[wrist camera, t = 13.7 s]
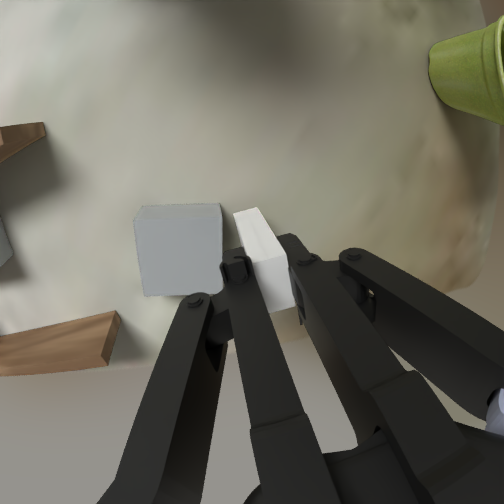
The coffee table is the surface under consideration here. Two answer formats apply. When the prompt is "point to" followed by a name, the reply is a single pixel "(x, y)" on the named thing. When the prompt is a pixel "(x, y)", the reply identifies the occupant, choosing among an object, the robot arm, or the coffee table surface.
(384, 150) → the coffee table surface
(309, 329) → the robot arm
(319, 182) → the coffee table surface
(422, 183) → the coffee table surface
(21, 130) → the frame
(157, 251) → the tile
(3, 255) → the tile
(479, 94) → the plant pot
